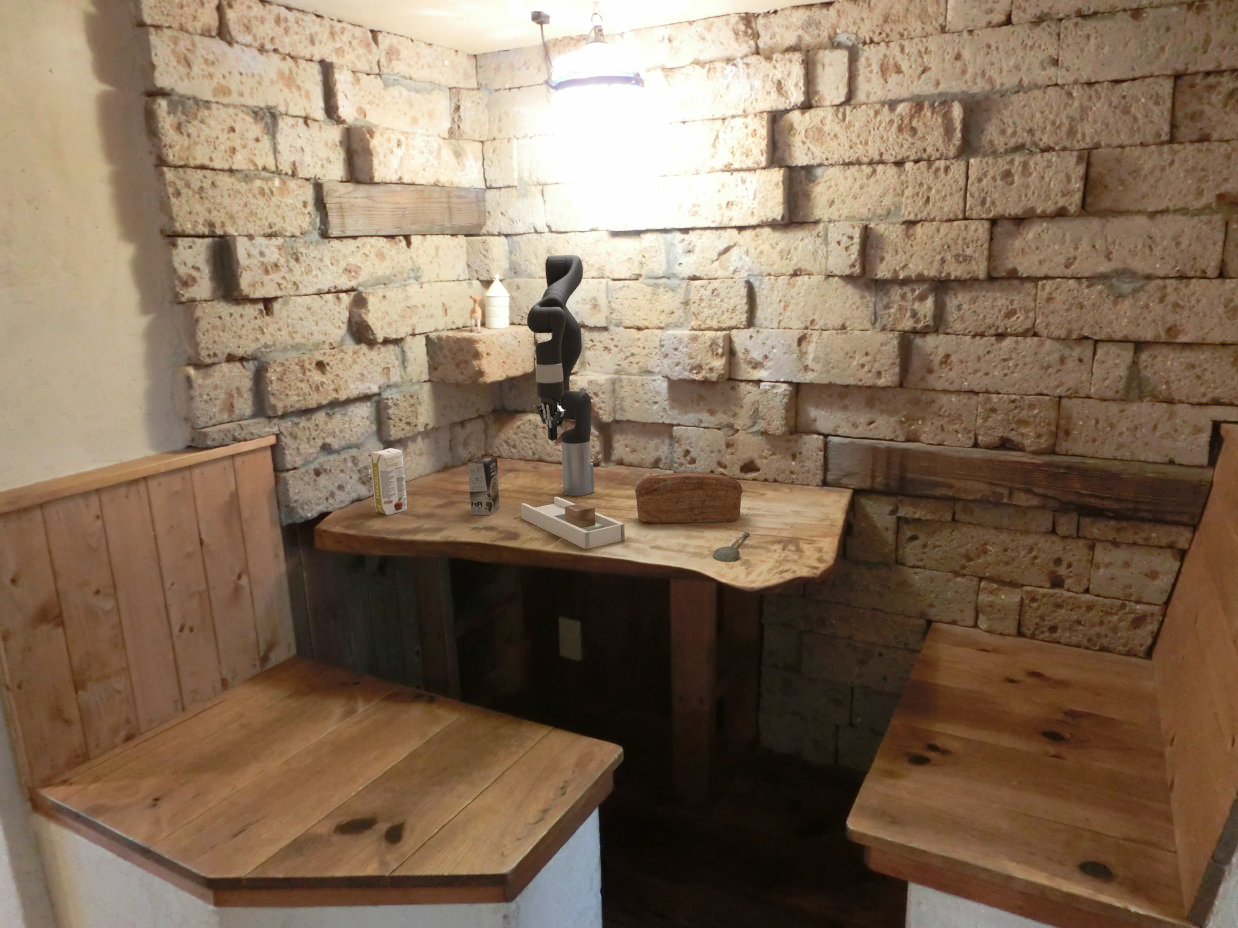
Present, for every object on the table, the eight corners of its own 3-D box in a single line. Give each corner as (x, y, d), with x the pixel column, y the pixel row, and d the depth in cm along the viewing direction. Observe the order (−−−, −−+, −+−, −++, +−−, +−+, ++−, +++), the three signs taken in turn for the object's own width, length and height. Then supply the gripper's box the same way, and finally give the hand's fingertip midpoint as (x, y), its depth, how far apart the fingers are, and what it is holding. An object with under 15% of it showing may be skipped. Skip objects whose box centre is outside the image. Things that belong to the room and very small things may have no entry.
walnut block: (583, 519, 239) (583, 502, 238) (595, 524, 234) (594, 507, 233) (565, 523, 236) (564, 506, 235) (576, 528, 231) (576, 511, 230)
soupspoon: (709, 564, 212) (734, 568, 210) (709, 551, 212) (734, 556, 209) (735, 535, 232) (758, 539, 229) (736, 523, 231) (759, 527, 228)
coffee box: (490, 515, 254) (487, 463, 250) (470, 514, 255) (466, 462, 251) (500, 507, 262) (498, 456, 258) (481, 506, 263) (477, 455, 260)
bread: (744, 524, 241) (745, 478, 237) (636, 526, 241) (635, 480, 238) (738, 511, 252) (739, 467, 249) (635, 513, 253) (634, 470, 249)
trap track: (557, 510, 257) (557, 496, 256) (624, 539, 229) (624, 523, 228) (521, 518, 250) (521, 503, 249) (586, 549, 222) (585, 532, 221)
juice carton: (410, 510, 261) (405, 450, 256) (386, 516, 255) (380, 455, 250) (396, 506, 266) (391, 446, 261) (372, 512, 260) (366, 451, 255)
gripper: (573, 380, 234) (576, 441, 239) (549, 375, 245) (552, 434, 249) (550, 383, 230) (553, 445, 235) (526, 378, 241) (529, 438, 245)
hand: (552, 439), depth 242 cm, fingers closed
